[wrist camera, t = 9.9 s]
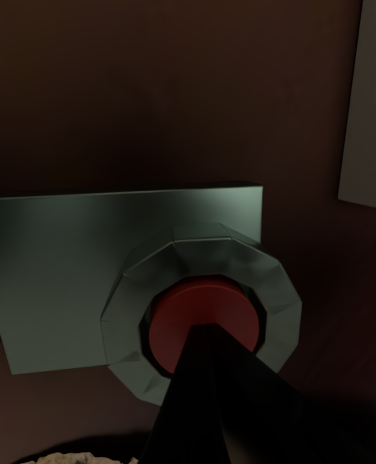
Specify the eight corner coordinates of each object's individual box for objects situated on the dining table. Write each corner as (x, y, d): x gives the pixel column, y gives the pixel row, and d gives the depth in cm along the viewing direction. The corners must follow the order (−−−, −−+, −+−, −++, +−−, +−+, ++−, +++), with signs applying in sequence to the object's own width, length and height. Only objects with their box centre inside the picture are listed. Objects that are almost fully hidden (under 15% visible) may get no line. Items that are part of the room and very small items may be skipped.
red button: (154, 349, 10) (153, 386, 8) (147, 266, 9) (144, 290, 7) (242, 340, 10) (257, 374, 9) (244, 259, 9) (262, 280, 8)
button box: (35, 359, 12) (-15, 438, 8) (-7, 192, 10) (-96, 210, 6) (258, 336, 13) (293, 399, 9) (266, 179, 11) (314, 189, 7)
